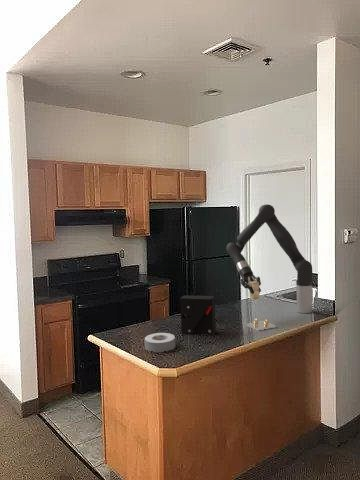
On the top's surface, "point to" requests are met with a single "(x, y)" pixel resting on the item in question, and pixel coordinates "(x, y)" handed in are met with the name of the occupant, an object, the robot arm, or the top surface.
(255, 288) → the block
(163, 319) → the top surface
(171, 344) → the tape roll
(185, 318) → the electrical component
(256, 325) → the plate
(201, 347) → the top surface
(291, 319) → the top surface
